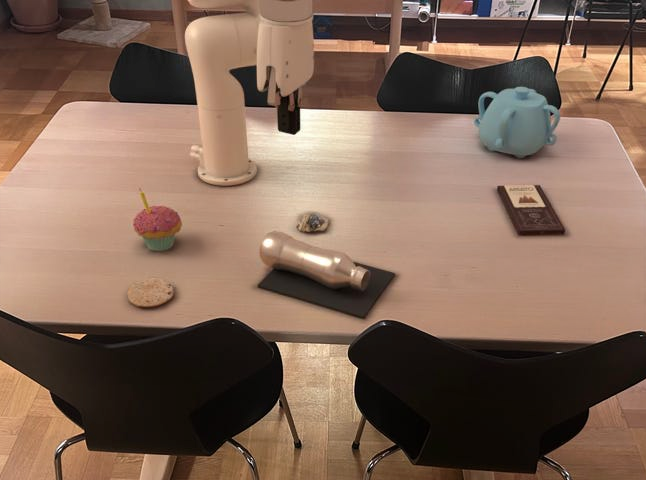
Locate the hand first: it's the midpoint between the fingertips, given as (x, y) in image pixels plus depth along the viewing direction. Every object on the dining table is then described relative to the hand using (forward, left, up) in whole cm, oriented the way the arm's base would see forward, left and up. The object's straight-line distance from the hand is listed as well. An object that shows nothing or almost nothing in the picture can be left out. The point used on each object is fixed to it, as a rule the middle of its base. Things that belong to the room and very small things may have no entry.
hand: (289, 131), depth 113 cm
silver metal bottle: (-5, -2, -21) cm, 22 cm away
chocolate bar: (+34, +38, -25) cm, 57 cm away
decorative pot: (+23, +66, -25) cm, 74 cm away
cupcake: (-25, -5, -25) cm, 36 cm away
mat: (+8, -2, -25) cm, 26 cm away
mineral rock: (-3, +14, -25) cm, 29 cm away
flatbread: (-17, -19, -25) cm, 36 cm away
